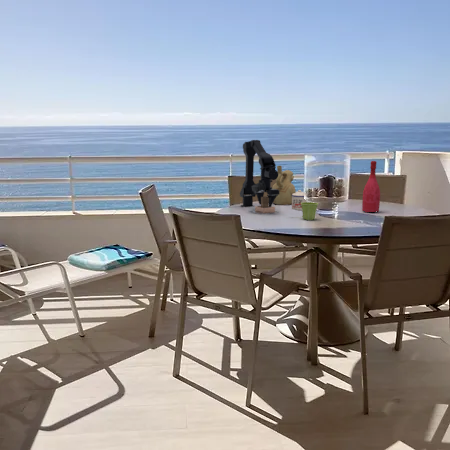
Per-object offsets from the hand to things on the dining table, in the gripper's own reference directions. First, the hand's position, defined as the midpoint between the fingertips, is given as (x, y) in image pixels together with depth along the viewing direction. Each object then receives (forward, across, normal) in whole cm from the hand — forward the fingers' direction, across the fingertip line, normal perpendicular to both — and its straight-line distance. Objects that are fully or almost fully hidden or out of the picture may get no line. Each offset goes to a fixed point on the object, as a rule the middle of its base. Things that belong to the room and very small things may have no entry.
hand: (265, 205), depth 288 cm
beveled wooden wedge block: (+3, 0, 0) cm, 3 cm away
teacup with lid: (+5, -1, +28) cm, 28 cm away
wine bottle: (+5, +26, +58) cm, 64 cm away
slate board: (+5, -1, 0) cm, 5 cm away
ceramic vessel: (+5, -25, +33) cm, 42 cm away
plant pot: (+5, +26, +10) cm, 28 cm away
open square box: (+4, 0, 0) cm, 4 cm away
